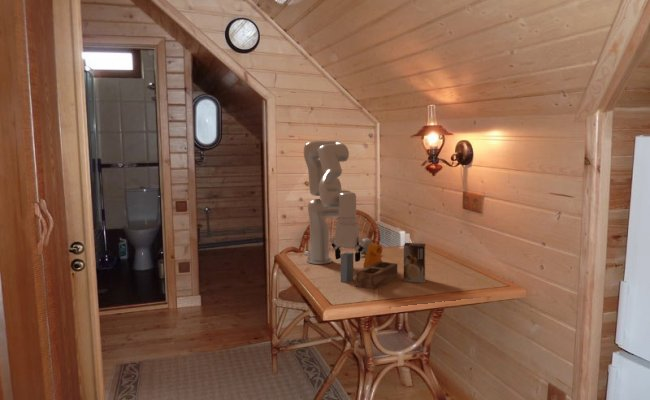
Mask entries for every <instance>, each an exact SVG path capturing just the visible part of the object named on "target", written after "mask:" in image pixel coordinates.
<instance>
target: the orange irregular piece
mask: <svg viewBox="0 0 650 400" xmlns="http://www.w3.org/2000/svg"><path fill="white" fill-rule="evenodd" d="M382 253H383V246H382V245H381V244H378V243H374V242H373V243H371V244H370V245H369V246H368V249H367V253H366V254H365V258H364V261H363V269H364V268H366V267H368V266H370V265H372V264H374V263H376V262H379V261H382V262H384V261H383V260H382V256H381V255H382Z"/></svg>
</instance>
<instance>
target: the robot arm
mask: <svg viewBox="0 0 650 400" xmlns="http://www.w3.org/2000/svg"><path fill="white" fill-rule="evenodd" d="M349 155H350V153H349V149H348V147H347V145H346V144H344V143H342V142H340V141H337V140H312V141H309V142H307V143H305V144H304V146H303V156H304V157H303V158H304V161H305V164H306V166H307V172H308V185H309V186H308V187H309V192H310V194H311V196H313V197H314V196H315V197H319V198H315V199H314V198H313V199H312V200H310V201H309V202H308V205H307V212H308V217H309V218H308V219H309V251H308V250H307V251H306V250H305V251H304V253H303V256H304V257H305V256H307V258H306V262H307V263H309V264H313V265H326V264H330V263H332V262H333V258H332V257H330V245H331V246H332V248H333V250H334V257H335V260H340V259H341V254H342V253H341V248H343V249H345V248H346V249H354V251H355V252H354V261H355V263H357V262H360V260H361V259H362V258H361V251H362V250H363V249H364V247H365V245H366V242H364V241H363V240H362V239H361V238H360V231H359V225H358V224H357V195H356V193H355V192H352V191H350V190H342V183H341V181H340V179H339V177H340V176H341V175H342V174H343V173H342V172H343V169H342V166H341V163H342V162H343V163H344V162H347V161H348V159H349V157H350V156H349ZM327 218H335V219H336V221H337V222H338V223H336V228H335V235H334V237H332V238H330V227H329V224H328V223H327V222H326V221H327V220H325V219H327ZM359 243H361V247H359Z"/></svg>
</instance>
